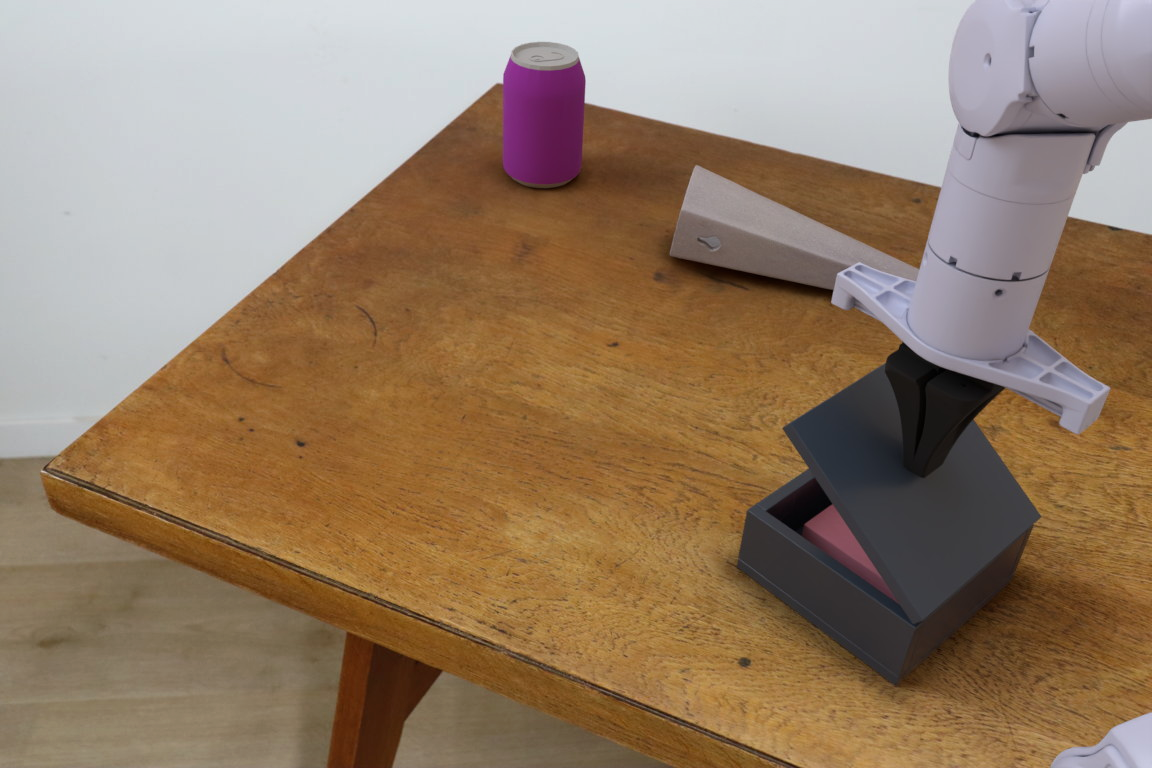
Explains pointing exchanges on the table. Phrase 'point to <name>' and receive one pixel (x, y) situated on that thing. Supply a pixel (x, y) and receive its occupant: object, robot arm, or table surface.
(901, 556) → the lid
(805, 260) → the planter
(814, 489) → the box
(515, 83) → the beverage can
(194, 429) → the table surface
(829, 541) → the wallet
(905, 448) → the robot arm
